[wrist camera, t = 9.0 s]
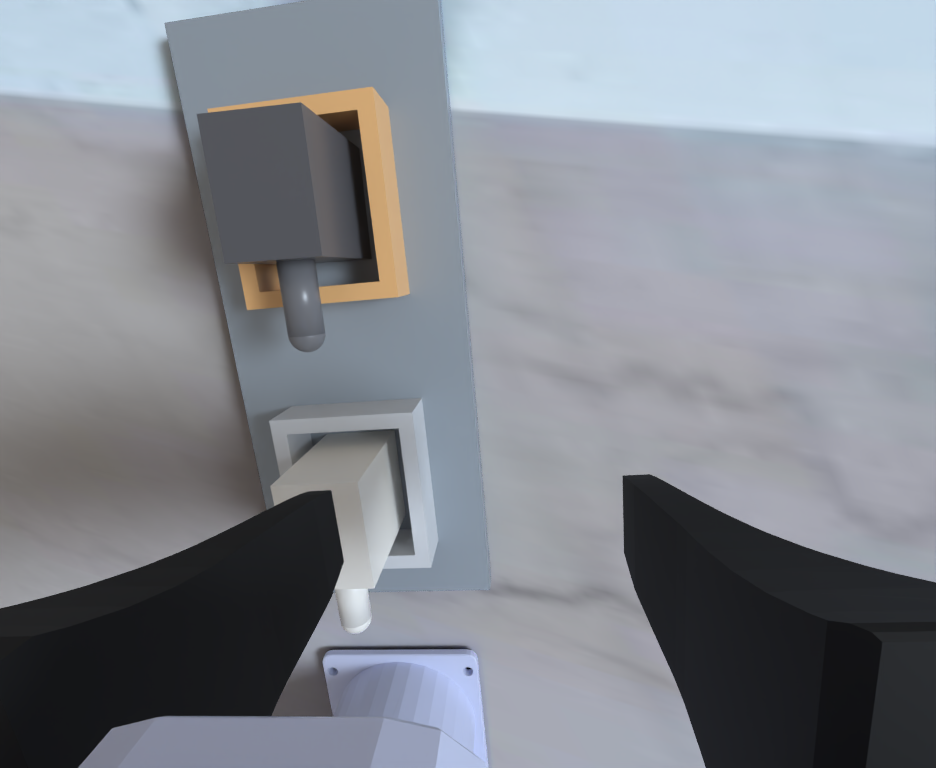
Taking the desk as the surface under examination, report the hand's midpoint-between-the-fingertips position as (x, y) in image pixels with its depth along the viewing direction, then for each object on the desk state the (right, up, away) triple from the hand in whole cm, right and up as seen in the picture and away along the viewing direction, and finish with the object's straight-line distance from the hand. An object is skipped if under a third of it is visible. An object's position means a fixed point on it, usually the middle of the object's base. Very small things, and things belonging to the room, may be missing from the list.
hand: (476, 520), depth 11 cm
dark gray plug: (-6, +9, +7) cm, 12 cm away
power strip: (-5, +5, +9) cm, 11 cm away
